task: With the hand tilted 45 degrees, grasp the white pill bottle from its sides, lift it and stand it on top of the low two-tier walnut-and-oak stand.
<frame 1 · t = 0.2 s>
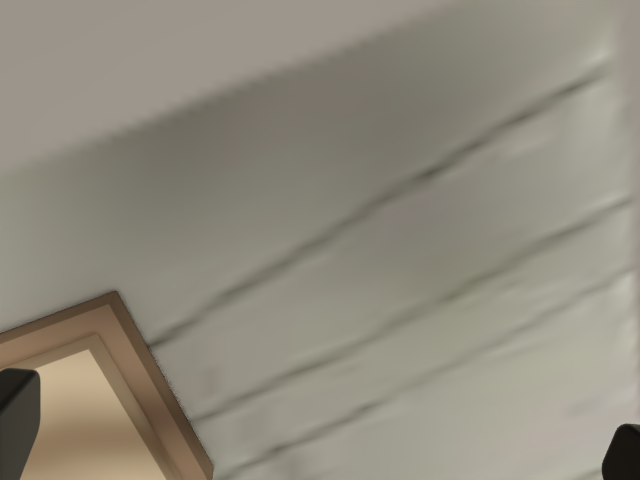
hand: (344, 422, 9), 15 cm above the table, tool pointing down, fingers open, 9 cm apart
stand: (64, 423, 25), on the table
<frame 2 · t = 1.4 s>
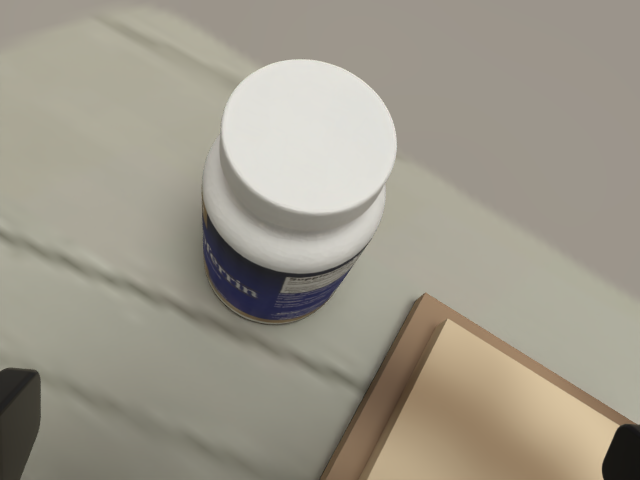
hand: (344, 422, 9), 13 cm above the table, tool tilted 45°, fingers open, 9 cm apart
stand: (470, 475, 22), on the table
pill bottle: (272, 262, 24), on the table
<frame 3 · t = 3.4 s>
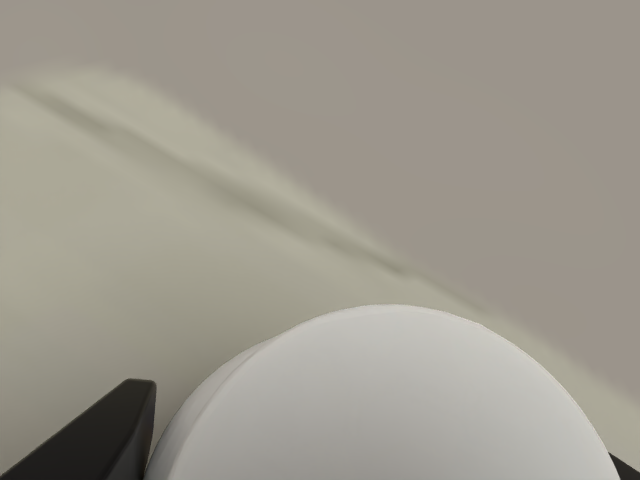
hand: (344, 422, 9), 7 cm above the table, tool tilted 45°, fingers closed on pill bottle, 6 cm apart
when the fingers open (13 cm above the table, at t = 6.2 s): pill bottle drops 4 cm, resting on stand.
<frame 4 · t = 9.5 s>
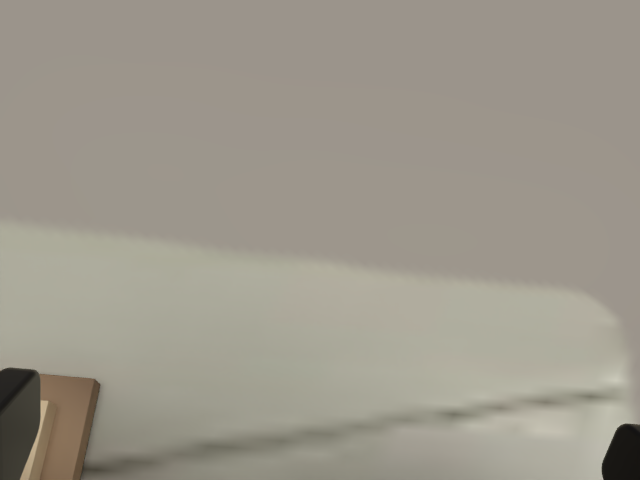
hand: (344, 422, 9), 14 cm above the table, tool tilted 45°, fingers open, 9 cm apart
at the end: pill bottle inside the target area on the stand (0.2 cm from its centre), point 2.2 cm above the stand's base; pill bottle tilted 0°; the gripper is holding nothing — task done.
